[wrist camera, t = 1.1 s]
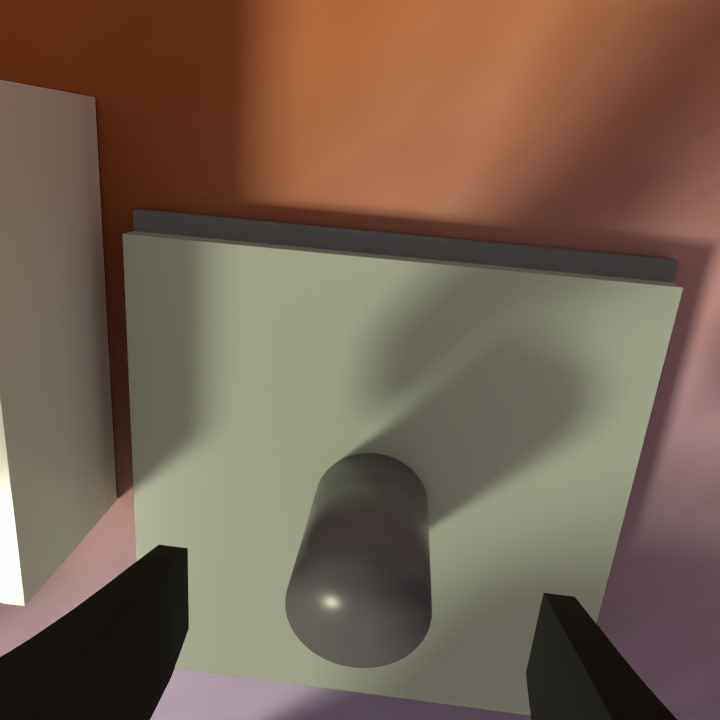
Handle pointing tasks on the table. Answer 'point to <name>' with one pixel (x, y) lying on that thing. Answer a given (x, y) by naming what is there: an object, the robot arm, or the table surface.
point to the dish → (50, 336)
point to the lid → (383, 455)
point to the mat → (406, 245)
